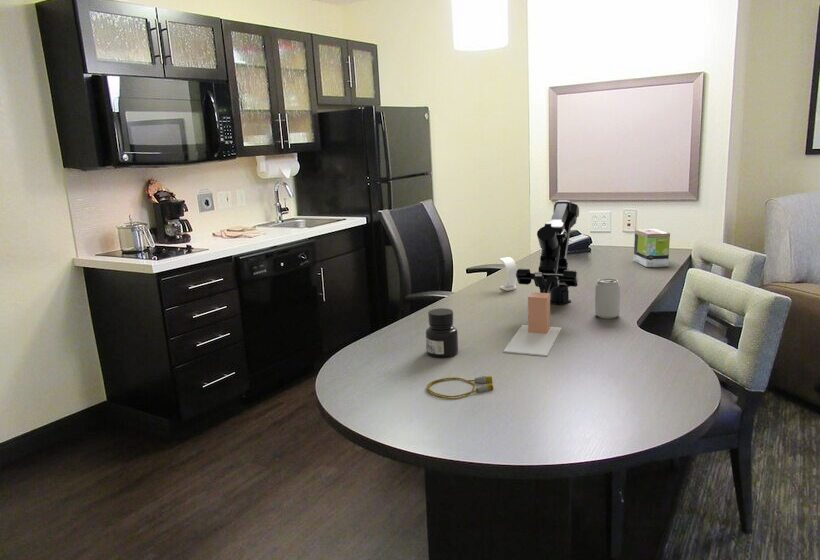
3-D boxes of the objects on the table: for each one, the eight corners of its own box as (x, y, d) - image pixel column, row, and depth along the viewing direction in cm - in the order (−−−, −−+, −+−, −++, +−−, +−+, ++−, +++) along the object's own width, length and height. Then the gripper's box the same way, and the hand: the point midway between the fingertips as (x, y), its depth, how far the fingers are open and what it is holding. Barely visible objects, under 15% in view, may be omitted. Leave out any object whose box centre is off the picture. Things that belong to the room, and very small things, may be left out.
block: (532, 326, 178) (531, 292, 175) (550, 327, 176) (550, 293, 173) (528, 332, 173) (527, 296, 170) (546, 333, 170) (546, 297, 168)
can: (621, 319, 181) (622, 282, 178) (596, 319, 182) (597, 282, 180) (617, 312, 188) (618, 276, 185) (593, 312, 190) (594, 277, 187)
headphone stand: (509, 286, 229) (508, 256, 226) (518, 289, 224) (518, 259, 221) (499, 288, 227) (499, 258, 225) (508, 291, 222) (508, 260, 219)
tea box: (669, 266, 247) (670, 232, 244) (645, 267, 247) (647, 233, 244) (655, 259, 262) (656, 227, 258) (632, 261, 262) (634, 228, 259)
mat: (522, 325, 180) (522, 324, 180) (561, 328, 175) (561, 327, 175) (503, 352, 159) (503, 350, 159) (547, 356, 154) (547, 354, 154)
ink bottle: (421, 350, 164) (418, 310, 161) (448, 344, 167) (446, 305, 164) (435, 361, 155) (433, 318, 152) (464, 355, 158) (463, 313, 156)
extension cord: (487, 404, 129) (487, 396, 129) (421, 398, 134) (420, 390, 134) (497, 382, 140) (497, 375, 140) (435, 377, 145) (435, 370, 145)
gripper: (581, 273, 188) (576, 314, 181) (524, 271, 196) (517, 311, 188) (578, 254, 180) (573, 297, 172) (519, 252, 187) (511, 294, 180)
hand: (543, 300), depth 178 cm, fingers closed
